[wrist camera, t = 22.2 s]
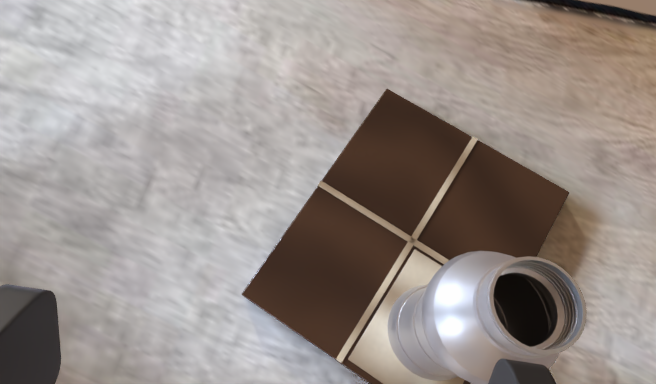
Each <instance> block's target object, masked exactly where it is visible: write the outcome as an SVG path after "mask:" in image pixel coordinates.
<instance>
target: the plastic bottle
mask: <svg viewBox="0 0 656 384" xmlns="http://www.w3.org/2000/svg"><path fill="white" fill-rule="evenodd" d="M585 323H586V305H585V300H584V297H583V294H582V292H581V290H580V288H579V286H578V285H577V283H576V282H575V281H574V279H573V278H572V277H571V276H570V275H569V274H568V273H567V272H566V271H565V270H564V269H563V268H561V267H560V266H558V265H557V264H555V263H553V262H551V261H549V260H547V259H543V258H539V257H530V256H527V257H518V258H515V257H513V256H510V255H506V254H502V253H498V252H492V251H474V252H467V253H464V254H461V255H459V256H456V257H454V258H453V259H451V260H449V261H448V262H446V263H445V264H444V265H443V266H442V267H441V268H440V269H439V270H438V271H437V272H436V273H435V274H434V276H433V277H432V279H431V280H430V282H429V283H428V285H420V286H416V287H413V288H411V289H409V290H407V291H406V292H404V293H403V294H402V295H401V296H400V297H399V298H398V299H397V300H396V302H395V303H394V304H393V306H392V308H391V311H390V313H389V318H388V337H389V342H390V344H391V347H392V349H393V352H394V353H395V355H396V356H397V358H398V360H399V361H400V362H401V363H402V364H403V365H404V366H405V367H406V368H407V369H408V370H410V371H411V372H412V373H414V374H416V375H418V376H420V377H422V378H425V379H429V380H436V381H443V380H450V379H453V378H455V377H458V376H459V377H460V378H462V379H464V380H466V381H468V382H470V383H473V384H488V383H489V380H490V377H491V374H492V372H493V369H494V367H495V364H496V363H497V361H498V360H500V359H509V360H516V361H522V362H529V363H535V364H542V365H544V366H546V367H547V368H548V369H549V368H550V367H551V366H552V365H553V364H554V362H555V361H556V359H557V357H558V355H559V353H560V352H562V351H564V350H566V349H567V348H569V347H570V346H572V345H573V344H574V343H575V342H576V341H577V340H578V339H579V337H580V336H581V334H582V332H583V330H584V326H585Z"/></svg>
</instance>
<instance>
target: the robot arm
mask: <svg viewBox="0 0 656 384" xmlns="http://www.w3.org/2000/svg"><path fill="white" fill-rule="evenodd" d="M60 364H61V352H60V340H59V327H58V315H57V303H56V298H55V295H54V293H53V292H51V291H48V290H42V289H35V288H29V287H22V286H16V285H9V284H6V285H2V286H0V384H55V382H56V379H57V377H58V373H59V369H60ZM488 384H556V383H555V381H554V379H553V377H552V375H551V373H550V371H549V370H548V368H547V367H546V366H544V365H542V364H535V363H529V362H522V361H516V360H509V359H500V360H498V361H497V363H496V364H495V367H494V369H493V372H492V374H491V377H490V380H489V383H488Z"/></svg>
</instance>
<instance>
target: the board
mask: <svg viewBox="0 0 656 384" xmlns="http://www.w3.org/2000/svg"><path fill="white" fill-rule="evenodd" d="M568 194H569V192H568V191H566V190H565V189H563V188H561V187H559V186H557V185H556V184H554V183H552V182H550V181H549V180H547V179H545V178H543V177H542V176H540V175H538V174H536V173H535V172H533V171H531V170H529V169H528V168H526V167H524V166H522V165H520V164H519V163H517V162H515V161H513V160H512V159H510V158H508V157H506V156H505V155H503V154H501V153H499V152H498V151H496V150H494V149H492V148H491V147H489V146H487V145H485V144H484V143H482V142H480V141H478V139H477V138H475V137H471V136H469V135H468V134H466V133H464V132H462V131H461V130H459V129H457V128H455V127H454V126H452V125H450V124H448V123H447V122H445V121H443V120H441V119H439V118H438V117H436V116H434V115H432V114H431V113H429V112H427V111H425V110H424V109H422V108H420V107H418V106H417V105H415V104H413V103H411V102H410V101H408V100H406V99H404V98H402V97H401V96H399V95H397V94H395V93H394V92H392V91H390V90H388V89H386V90H385V92H384V93H383V95H382V96H381V97H380V99H379V100H378V102H377V103H376V104H375V106H374V107H373V109H372V110H371V112H370V113H369V114H368V116H367V117H366V119H365V120H364V121H363V123H362V124H361V126H360V127H359V129H358V130H357V131H356V133H355V134H354V136H353V137H352V138H351V140H350V141H349V143H348V144H347V145H346V147H345V148H344V150H343V151H342V153H341V154H340V155H339V157H338V158H337V160H336V161H335V162H334V164H333V165H332V167H331V168H330V170H329V171H328V172H327V174H326V175H325V177H324V178H323V179H322V181H320V183H319V184H318V186H317V188H316V189H315V191H314V192H313V194H312V195H311V196H310V198H309V199H308V201H307V202H306V203H305V205H304V206H303V208H302V209H301V211H300V212H299V213H298V215H297V216H296V218H295V219H294V220H293V222H292V223H291V225H290V226H289V227H288V229H287V230H286V232H285V233H284V235H283V236H282V237H281V239H280V240H279V242H278V243H277V244H276V246H275V247H274V249H273V250H272V252H271V253H270V254H269V256H268V257H267V259H266V260H265V261H264V263H263V264H262V266H261V267H260V268H259V270H258V271H257V273H256V274H255V276H254V277H253V278H252V280H251V281H250V283H249V284H248V285H247V287H246V288H245V290H244V291H243V293H242V295H243V296H244V297H246V298H247V299H248V300H250V301H251V302H253V303H254V304H256V305H257V306H259V307H260V308H261V309H263V310H264V311H266V312H267V313H269V314H270V315H272V316H273V317H274V318H276V319H277V320H279V321H280V322H282V323H283V324H285V325H286V326H287V327H289V328H290V329H292V330H293V331H295V332H296V333H298V334H299V335H301V336H302V337H303V338H305V339H306V340H308V341H309V342H311V343H312V344H314V345H315V346H316V347H318V348H319V349H321V350H322V351H324V352H325V353H327V354H328V355H329V356H331V357H332V358H334V359H335V360H337V361H338V362H340V363H341V364H343V365H344V366H345V367H347V368H348V369H350V370H351V371H353V372H354V373H356V374H357V375H358V376H360V377H361V378H363V379H364V380H366V381H367V382H369V383H370V384H470V382H468V381H466V380H464V379H462V378H460V377H459V376H458V377H455V378H453V379H450V380H443V381H436V380H429V379H425V378H422V377H420V376H418V375H416V374H414V373H412V372H411V371H410V370H408V369H407V368H406V367H405V366H404V365H403V364H402V363H401V362H400V361H399V360H398V358H397V356H396V355H395V353H394V352H393V349H392V347H391V344H390V342H389V337H388V318H389V313H390V311H391V308H392V306H393V304H394V303H395V302H396V300H397V299H398V298H399V297H400V296H401V295H402V294H403V293H404V292H406V291H407V290H409V289H411V288H413V287H416V286H420V285H428V283H429V282H430V280H431V279H432V277H433V276H434V274H435V273H436V272H437V271H438V270H439V269H440V268H441V267H442V266H443V265H444V264H445V263H446V262H448V261H449V260H451V259H453V258H454V257H456V256H459V255H461V254H464V253H467V252H474V251H492V252H498V253H502V254H506V255H510V256H513V257H515V258H518V257H527V256H530V257H536V256H537V254H538V252H539V250H540V248H541V246H542V244H543V242H544V241H545V239H546V237H547V235H548V233H549V231H550V229H551V227H552V225H553V223H554V221H555V219H556V217H557V215H558V214H559V212H560V210H561V208H562V206H563V204H564V202H565V200H566V198H567V196H568Z"/></svg>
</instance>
